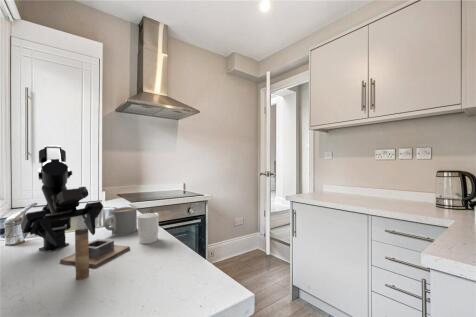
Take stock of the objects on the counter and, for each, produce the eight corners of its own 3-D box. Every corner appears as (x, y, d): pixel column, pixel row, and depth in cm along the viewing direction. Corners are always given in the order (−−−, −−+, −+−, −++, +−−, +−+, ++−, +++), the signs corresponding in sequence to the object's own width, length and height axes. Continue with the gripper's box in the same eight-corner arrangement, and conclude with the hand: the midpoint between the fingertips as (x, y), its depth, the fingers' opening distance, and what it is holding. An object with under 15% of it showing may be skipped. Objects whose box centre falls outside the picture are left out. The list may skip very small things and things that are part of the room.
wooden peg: (72, 279, 60) (72, 230, 60) (83, 273, 63) (82, 227, 63) (81, 280, 60) (80, 231, 60) (91, 274, 62) (91, 228, 63)
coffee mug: (131, 226, 108) (131, 205, 108) (140, 231, 101) (140, 208, 101) (100, 233, 98) (99, 210, 98) (107, 239, 91) (107, 214, 91)
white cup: (151, 245, 84) (151, 218, 84) (133, 243, 85) (132, 217, 85) (162, 237, 92) (162, 213, 92) (145, 236, 93) (145, 212, 93)
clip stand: (59, 262, 70) (59, 250, 70) (98, 245, 84) (98, 235, 84) (95, 267, 66) (95, 254, 67) (129, 249, 80) (129, 238, 80)
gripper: (24, 181, 58) (43, 230, 52) (99, 176, 74) (120, 213, 68) (13, 209, 61) (30, 258, 56) (87, 198, 78) (106, 235, 72)
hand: (76, 239), depth 63 cm, fingers open, 9 cm apart
